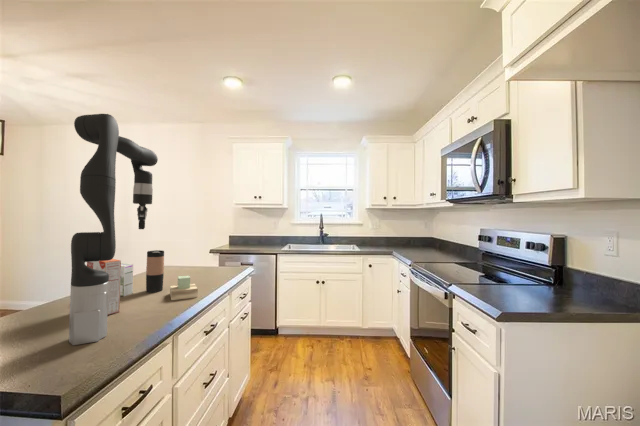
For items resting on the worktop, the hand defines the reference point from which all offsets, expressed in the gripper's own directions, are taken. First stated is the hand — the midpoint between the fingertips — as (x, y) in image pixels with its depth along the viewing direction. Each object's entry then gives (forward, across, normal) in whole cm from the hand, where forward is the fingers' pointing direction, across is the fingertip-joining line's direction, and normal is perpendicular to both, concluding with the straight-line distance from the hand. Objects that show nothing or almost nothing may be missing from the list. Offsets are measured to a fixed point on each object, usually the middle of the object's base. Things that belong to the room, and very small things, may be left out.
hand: (141, 228), depth 128 cm
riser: (+32, -4, -18) cm, 37 cm away
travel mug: (+32, +11, -6) cm, 35 cm away
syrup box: (+32, +10, +7) cm, 35 cm away
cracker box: (+32, -13, +12) cm, 37 cm away
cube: (+28, -4, -18) cm, 34 cm away
